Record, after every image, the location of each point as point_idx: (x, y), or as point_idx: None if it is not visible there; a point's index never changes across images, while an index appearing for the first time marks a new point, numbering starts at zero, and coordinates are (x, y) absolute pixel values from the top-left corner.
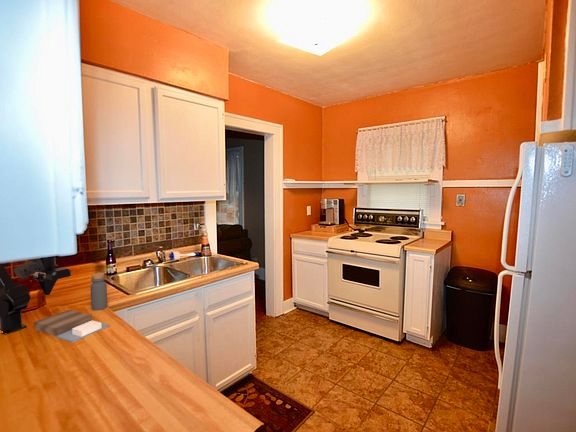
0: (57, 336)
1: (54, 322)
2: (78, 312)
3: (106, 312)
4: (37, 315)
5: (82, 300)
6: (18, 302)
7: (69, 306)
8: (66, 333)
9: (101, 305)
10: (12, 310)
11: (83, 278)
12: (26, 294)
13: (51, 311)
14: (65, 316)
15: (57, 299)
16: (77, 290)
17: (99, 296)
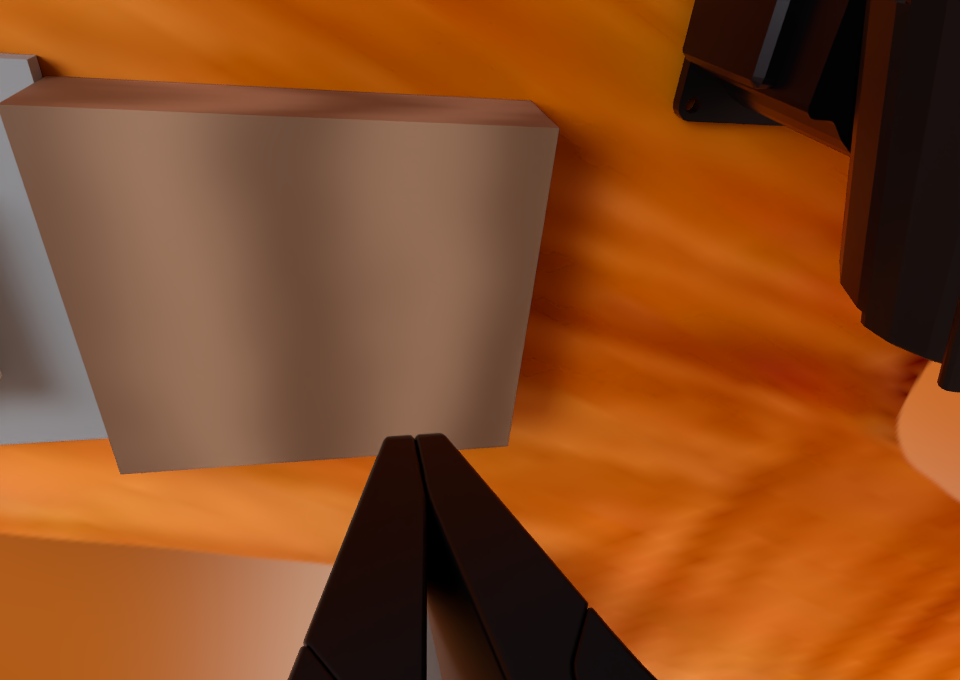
0: (8, 56)
1: (288, 211)
2: (341, 450)
3: (279, 549)
4: (800, 306)
5: (685, 562)
6: (911, 97)
7: (687, 485)
8: (7, 153)
9: None
10: None
11: (950, 675)
12: (957, 316)
13: (749, 390)
14: (359, 351)
15: (879, 503)
16: (855, 607)
17: None
